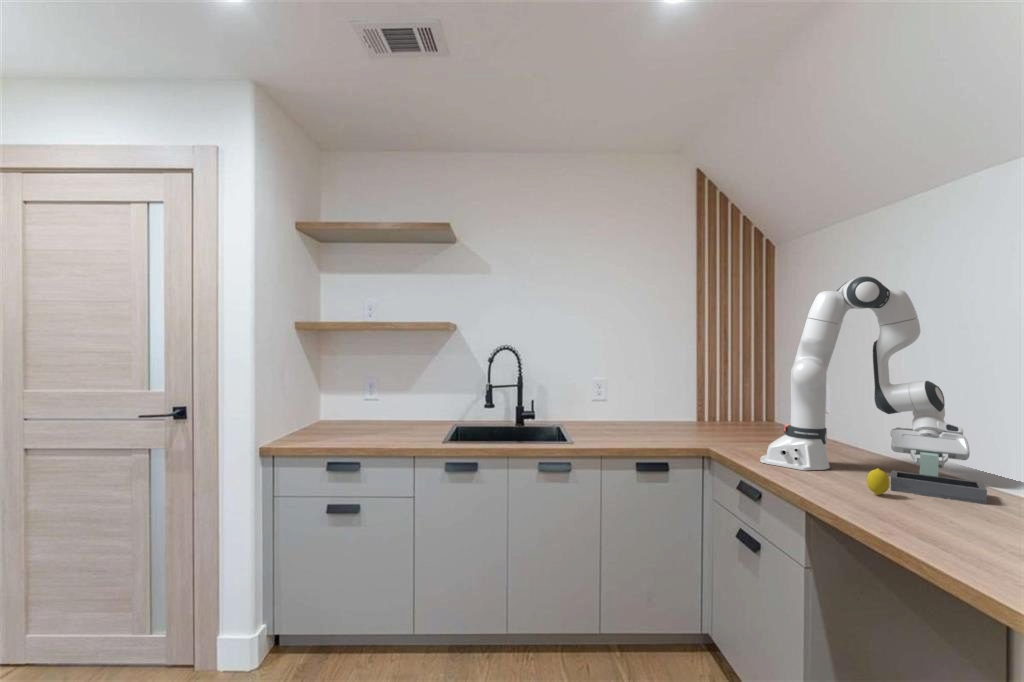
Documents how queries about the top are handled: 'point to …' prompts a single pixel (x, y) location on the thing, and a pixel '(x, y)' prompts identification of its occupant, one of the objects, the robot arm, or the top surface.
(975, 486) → the bottom track
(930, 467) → the door block
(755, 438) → the top surface
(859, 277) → the robot arm
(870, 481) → the lemon
